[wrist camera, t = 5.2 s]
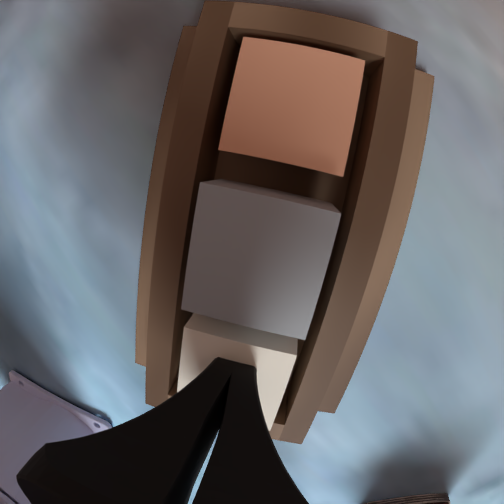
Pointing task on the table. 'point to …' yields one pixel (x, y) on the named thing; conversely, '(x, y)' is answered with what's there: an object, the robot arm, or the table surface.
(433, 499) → the lighter
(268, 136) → the key terracotta
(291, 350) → the key cream
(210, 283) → the key slate
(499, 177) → the table surface
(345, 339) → the keypad board
